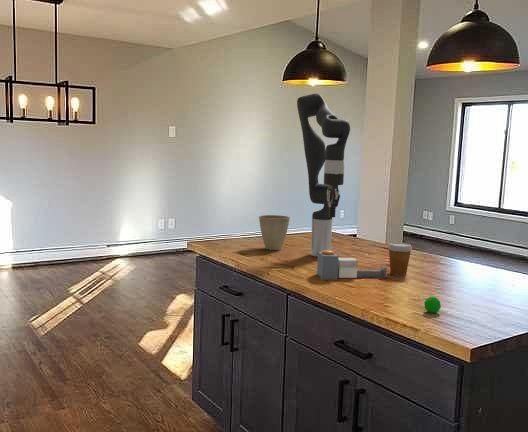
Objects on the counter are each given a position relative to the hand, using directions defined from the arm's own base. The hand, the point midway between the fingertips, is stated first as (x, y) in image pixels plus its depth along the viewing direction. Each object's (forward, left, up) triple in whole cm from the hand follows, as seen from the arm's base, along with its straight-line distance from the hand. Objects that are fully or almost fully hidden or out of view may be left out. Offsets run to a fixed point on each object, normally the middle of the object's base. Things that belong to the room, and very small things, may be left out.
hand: (331, 217), depth 218 cm
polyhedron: (+49, +21, -24) cm, 58 cm away
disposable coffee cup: (-5, +30, -23) cm, 38 cm away
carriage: (+1, +6, -23) cm, 24 cm away
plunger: (+1, -1, -18) cm, 18 cm away
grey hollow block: (+1, -1, -23) cm, 23 cm away
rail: (+1, +11, -23) cm, 26 cm away
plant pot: (-58, -14, -23) cm, 64 cm away
